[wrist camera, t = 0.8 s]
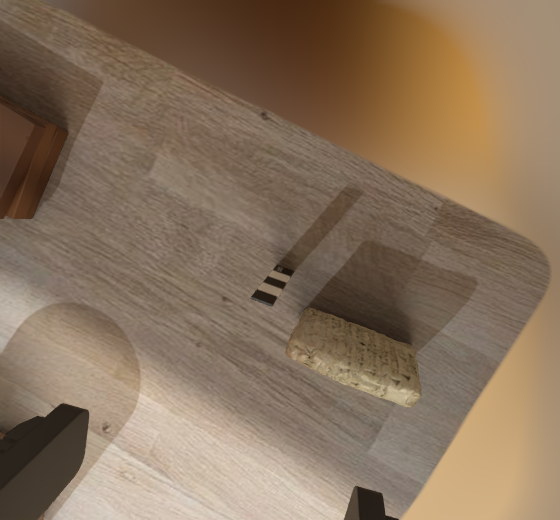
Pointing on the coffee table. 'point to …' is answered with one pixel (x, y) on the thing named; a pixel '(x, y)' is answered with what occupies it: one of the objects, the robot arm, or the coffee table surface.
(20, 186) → the slab pile
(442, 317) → the coffee table surface
